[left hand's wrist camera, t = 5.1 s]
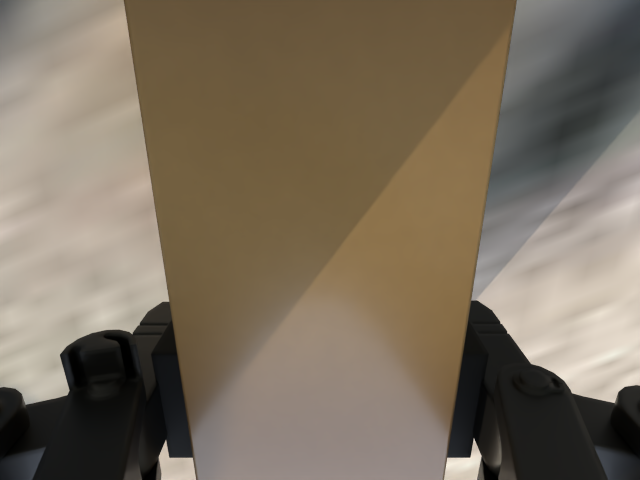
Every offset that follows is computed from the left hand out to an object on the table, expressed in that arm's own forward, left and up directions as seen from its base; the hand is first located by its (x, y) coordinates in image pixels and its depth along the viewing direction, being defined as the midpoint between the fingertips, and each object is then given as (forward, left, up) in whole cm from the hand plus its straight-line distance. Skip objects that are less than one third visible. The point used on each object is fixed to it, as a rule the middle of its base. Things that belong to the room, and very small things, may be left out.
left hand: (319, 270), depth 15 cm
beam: (+9, +28, -1) cm, 29 cm away
